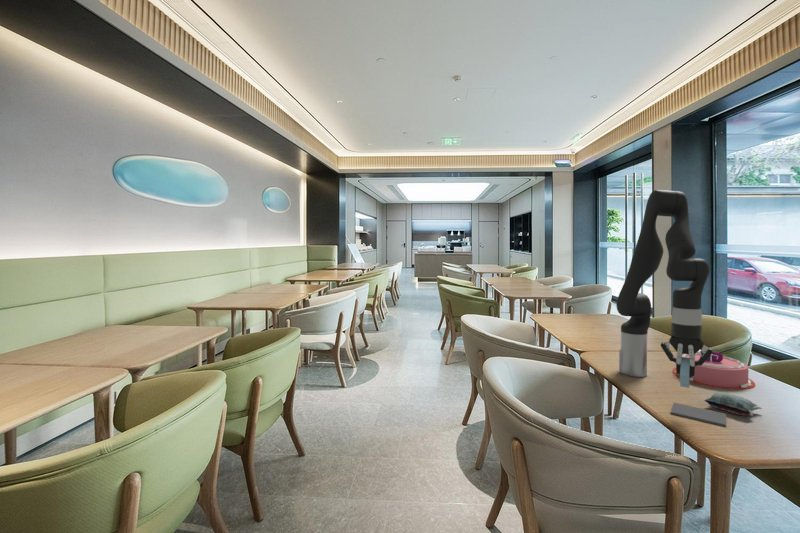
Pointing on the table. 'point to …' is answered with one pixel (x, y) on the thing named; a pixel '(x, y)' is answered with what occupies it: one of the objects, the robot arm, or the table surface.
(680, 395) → the table surface
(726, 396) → the packaged food
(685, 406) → the mat
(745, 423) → the table surface
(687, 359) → the block
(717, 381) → the cake
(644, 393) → the table surface
